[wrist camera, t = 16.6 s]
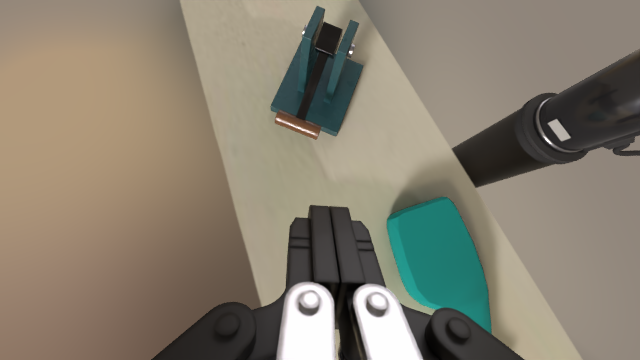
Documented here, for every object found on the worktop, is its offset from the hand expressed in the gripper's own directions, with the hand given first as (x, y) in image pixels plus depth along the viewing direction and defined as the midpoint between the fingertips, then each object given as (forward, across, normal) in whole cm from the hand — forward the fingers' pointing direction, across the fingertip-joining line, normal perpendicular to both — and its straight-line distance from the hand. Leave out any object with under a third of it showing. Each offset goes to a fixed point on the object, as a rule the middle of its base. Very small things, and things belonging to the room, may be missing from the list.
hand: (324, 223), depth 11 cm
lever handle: (+26, -1, 0) cm, 26 cm away
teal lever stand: (+34, -2, +2) cm, 34 cm away
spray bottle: (+14, -20, +23) cm, 33 cm away
